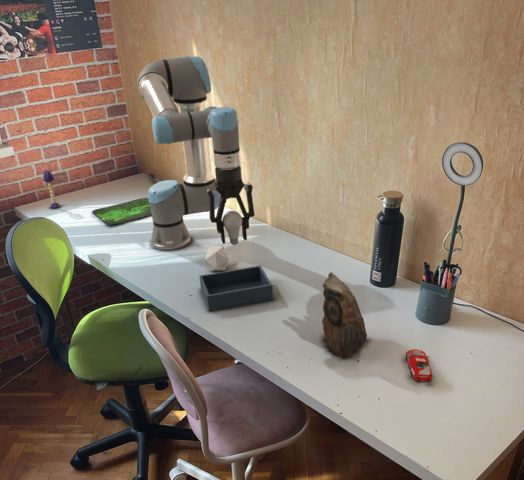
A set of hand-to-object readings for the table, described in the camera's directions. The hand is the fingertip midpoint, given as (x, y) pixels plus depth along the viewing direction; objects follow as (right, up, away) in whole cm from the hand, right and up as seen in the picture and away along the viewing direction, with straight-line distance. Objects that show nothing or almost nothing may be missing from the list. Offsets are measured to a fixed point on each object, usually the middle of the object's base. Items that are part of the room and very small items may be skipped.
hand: (234, 240), depth 176 cm
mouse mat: (-51, +27, +76) cm, 95 cm away
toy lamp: (-87, +32, +86) cm, 126 cm away
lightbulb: (0, -1, +1) cm, 2 cm away
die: (-7, -5, +27) cm, 28 cm away
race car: (+50, -40, -26) cm, 69 cm away
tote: (0, -16, +11) cm, 19 cm away
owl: (+32, -33, -15) cm, 49 cm away
